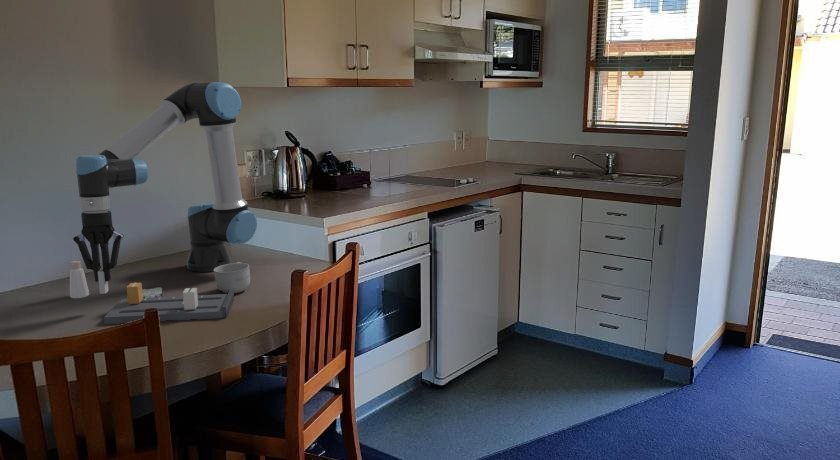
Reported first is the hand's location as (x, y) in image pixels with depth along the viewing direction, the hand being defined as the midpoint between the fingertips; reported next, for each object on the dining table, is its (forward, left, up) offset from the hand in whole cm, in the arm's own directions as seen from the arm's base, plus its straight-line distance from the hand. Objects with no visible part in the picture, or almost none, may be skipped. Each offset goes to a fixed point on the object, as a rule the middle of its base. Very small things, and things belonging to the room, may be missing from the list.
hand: (104, 292), depth 184 cm
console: (+4, +19, -6) cm, 20 cm away
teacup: (-15, +34, -6) cm, 38 cm away
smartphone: (-11, +9, -6) cm, 16 cm away
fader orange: (0, +8, -3) cm, 9 cm away
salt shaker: (-16, -13, -6) cm, 22 cm away
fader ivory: (+8, +25, -3) cm, 27 cm away
